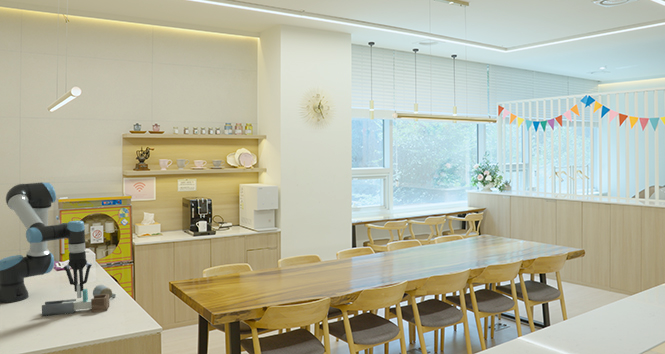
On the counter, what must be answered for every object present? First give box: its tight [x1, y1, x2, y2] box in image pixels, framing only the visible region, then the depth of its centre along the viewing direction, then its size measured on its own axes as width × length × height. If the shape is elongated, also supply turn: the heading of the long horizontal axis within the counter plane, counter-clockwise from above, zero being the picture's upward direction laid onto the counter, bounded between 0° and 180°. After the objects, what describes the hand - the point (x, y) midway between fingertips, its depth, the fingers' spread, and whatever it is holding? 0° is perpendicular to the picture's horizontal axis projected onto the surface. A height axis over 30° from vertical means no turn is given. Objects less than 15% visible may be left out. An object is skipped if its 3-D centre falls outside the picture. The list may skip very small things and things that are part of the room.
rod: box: [62, 288, 92, 311], centre depth 247 cm, size 4×18×10 cm, turn 106°
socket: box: [90, 294, 110, 313], centre depth 250 cm, size 8×7×6 cm
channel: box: [41, 298, 77, 317], centre depth 245 cm, size 6×14×6 cm, turn 106°
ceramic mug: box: [92, 284, 117, 300], centre depth 267 cm, size 11×8×8 cm
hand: (79, 297), depth 247 cm, fingers closed
